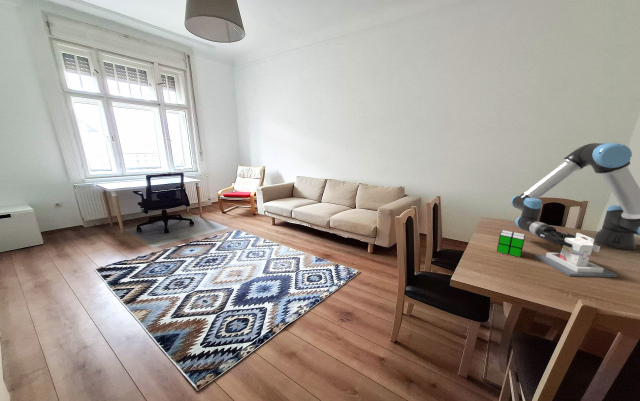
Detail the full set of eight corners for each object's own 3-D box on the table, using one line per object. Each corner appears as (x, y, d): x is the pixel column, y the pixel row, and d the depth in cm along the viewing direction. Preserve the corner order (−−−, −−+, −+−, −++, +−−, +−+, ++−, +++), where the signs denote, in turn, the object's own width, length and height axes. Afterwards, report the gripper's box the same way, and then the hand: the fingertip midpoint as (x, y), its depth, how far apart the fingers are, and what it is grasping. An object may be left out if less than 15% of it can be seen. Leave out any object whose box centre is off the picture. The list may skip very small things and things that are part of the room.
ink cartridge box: (557, 259, 113) (565, 231, 109) (568, 259, 113) (576, 231, 109) (575, 268, 105) (584, 238, 101) (586, 268, 104) (596, 239, 101)
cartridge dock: (573, 257, 117) (575, 251, 116) (616, 277, 100) (618, 270, 99) (533, 256, 118) (535, 251, 117) (569, 276, 101) (570, 269, 100)
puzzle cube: (521, 251, 125) (525, 234, 122) (520, 257, 117) (524, 239, 115) (498, 246, 131) (501, 229, 129) (496, 251, 124) (499, 234, 122)
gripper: (560, 237, 124) (610, 257, 102) (522, 236, 125) (564, 256, 103) (563, 224, 122) (615, 241, 100) (525, 223, 123) (568, 241, 101)
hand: (589, 249), depth 102 cm, fingers open, 7 cm apart
